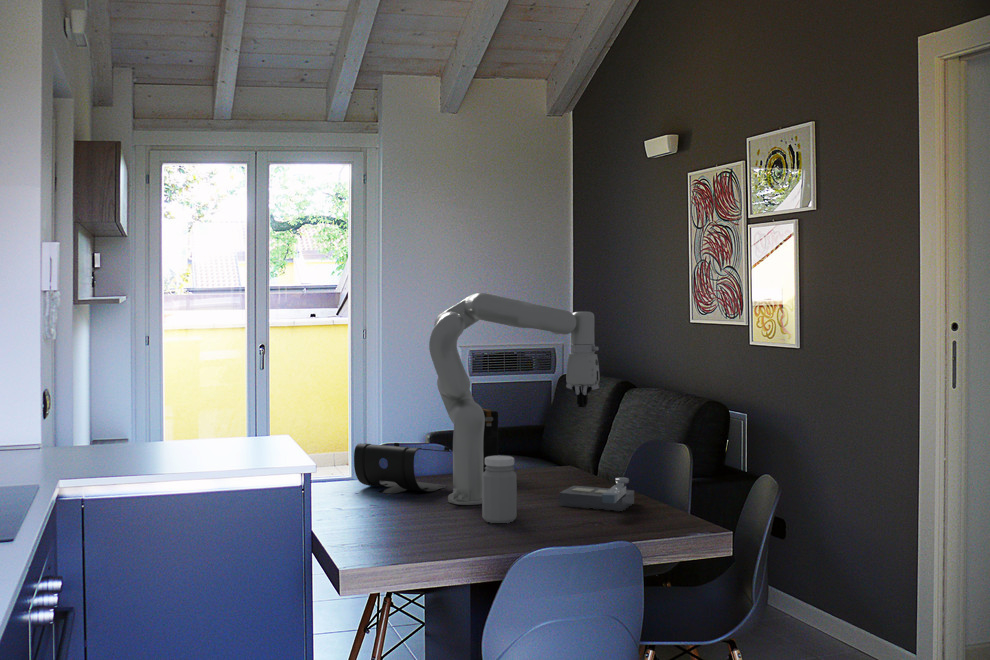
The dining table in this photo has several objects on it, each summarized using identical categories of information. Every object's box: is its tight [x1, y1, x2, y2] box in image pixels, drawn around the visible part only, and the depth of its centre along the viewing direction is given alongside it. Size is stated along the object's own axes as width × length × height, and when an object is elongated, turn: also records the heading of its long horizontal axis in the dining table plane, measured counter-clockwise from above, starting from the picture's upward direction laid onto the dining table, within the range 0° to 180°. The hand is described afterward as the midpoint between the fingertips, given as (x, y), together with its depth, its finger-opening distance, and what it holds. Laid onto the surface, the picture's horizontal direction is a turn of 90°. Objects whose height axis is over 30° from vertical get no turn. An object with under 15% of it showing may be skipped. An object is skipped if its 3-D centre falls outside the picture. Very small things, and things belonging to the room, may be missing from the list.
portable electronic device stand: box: [353, 442, 453, 495], centre depth 304 cm, size 26×24×16 cm
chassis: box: [558, 483, 635, 512], centre depth 278 cm, size 13×20×7 cm, turn 65°
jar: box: [481, 454, 518, 524], centre depth 255 cm, size 10×10×18 cm
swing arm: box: [602, 476, 630, 504], centre depth 267 cm, size 4×20×4 cm, turn 160°
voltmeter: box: [481, 407, 499, 473], centre depth 324 cm, size 16×9×25 cm, turn 25°
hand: (582, 406), depth 289 cm, fingers closed
